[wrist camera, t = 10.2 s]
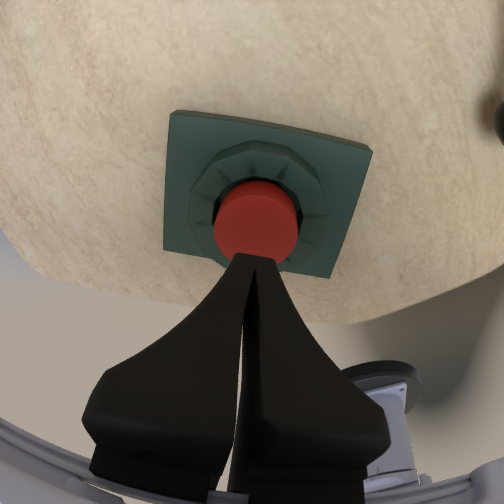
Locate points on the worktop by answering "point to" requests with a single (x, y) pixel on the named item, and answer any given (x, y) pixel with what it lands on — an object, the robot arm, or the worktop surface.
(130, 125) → the worktop surface
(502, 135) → the grey lever handle
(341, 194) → the button box
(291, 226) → the button
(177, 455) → the robot arm
